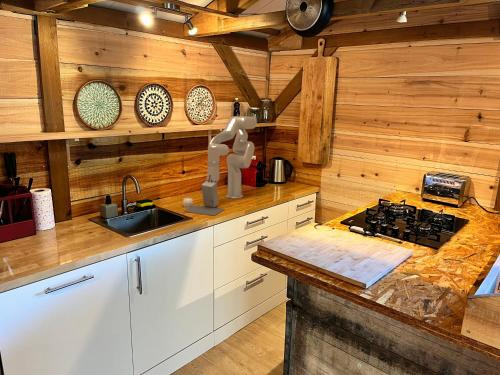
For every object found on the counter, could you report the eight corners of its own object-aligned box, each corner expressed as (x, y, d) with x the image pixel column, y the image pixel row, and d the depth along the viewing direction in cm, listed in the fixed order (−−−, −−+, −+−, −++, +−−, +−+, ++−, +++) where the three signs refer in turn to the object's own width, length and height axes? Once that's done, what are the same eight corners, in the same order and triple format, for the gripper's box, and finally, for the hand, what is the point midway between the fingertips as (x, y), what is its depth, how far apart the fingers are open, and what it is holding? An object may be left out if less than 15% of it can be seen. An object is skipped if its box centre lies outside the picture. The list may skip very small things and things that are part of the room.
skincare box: (203, 206, 254) (199, 185, 247) (209, 200, 260) (205, 180, 252) (214, 208, 250) (210, 186, 243) (220, 202, 256) (216, 181, 248)
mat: (195, 205, 256) (195, 205, 256) (225, 209, 248) (225, 209, 248) (183, 211, 243) (183, 211, 242) (214, 216, 235) (214, 215, 235)
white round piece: (186, 204, 259) (186, 197, 258) (194, 205, 257) (194, 198, 256) (181, 206, 254) (181, 199, 253) (189, 207, 252) (189, 200, 250)
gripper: (213, 162, 260) (213, 188, 263) (203, 165, 246) (203, 193, 250) (223, 163, 257) (223, 189, 261) (213, 166, 243) (213, 194, 247)
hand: (213, 191), depth 255 cm, fingers closed
